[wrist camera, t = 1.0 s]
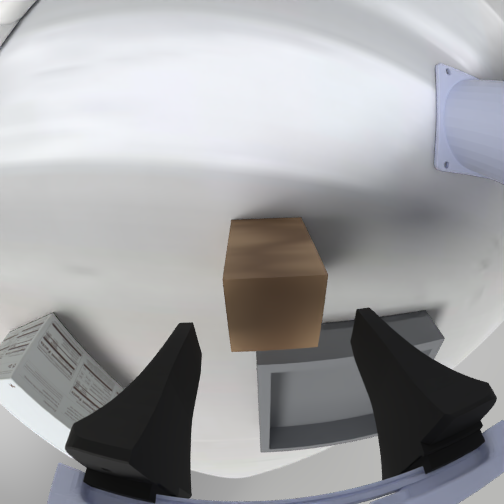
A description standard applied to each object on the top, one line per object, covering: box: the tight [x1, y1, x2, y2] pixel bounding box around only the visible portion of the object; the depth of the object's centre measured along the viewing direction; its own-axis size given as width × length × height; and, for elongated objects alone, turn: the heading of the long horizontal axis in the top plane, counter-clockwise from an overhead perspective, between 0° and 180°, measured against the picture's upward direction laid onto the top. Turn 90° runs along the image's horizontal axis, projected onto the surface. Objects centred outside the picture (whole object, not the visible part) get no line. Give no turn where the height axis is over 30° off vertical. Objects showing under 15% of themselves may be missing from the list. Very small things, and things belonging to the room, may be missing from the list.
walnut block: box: [223, 217, 328, 352], centre depth 16 cm, size 4×4×7 cm
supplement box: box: [0, 313, 124, 458], centre depth 22 cm, size 17×13×9 cm
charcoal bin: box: [256, 310, 445, 452], centre depth 24 cm, size 16×18×4 cm
